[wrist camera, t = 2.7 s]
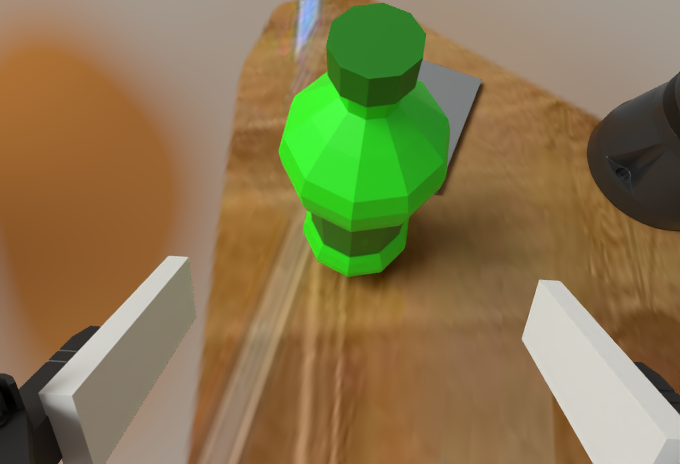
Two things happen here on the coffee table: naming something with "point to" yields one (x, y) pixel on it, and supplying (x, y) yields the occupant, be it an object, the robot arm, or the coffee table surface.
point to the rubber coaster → (450, 96)
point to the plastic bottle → (366, 141)
